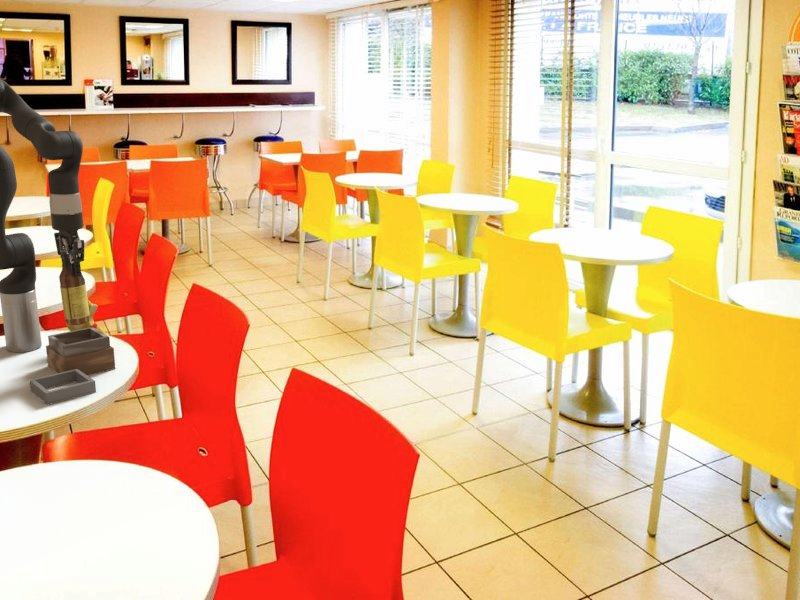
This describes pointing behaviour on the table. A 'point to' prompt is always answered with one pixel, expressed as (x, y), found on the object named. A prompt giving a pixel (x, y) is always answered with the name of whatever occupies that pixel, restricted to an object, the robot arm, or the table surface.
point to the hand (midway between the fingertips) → (72, 274)
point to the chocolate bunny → (90, 323)
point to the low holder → (65, 393)
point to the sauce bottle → (73, 294)
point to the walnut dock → (80, 351)
